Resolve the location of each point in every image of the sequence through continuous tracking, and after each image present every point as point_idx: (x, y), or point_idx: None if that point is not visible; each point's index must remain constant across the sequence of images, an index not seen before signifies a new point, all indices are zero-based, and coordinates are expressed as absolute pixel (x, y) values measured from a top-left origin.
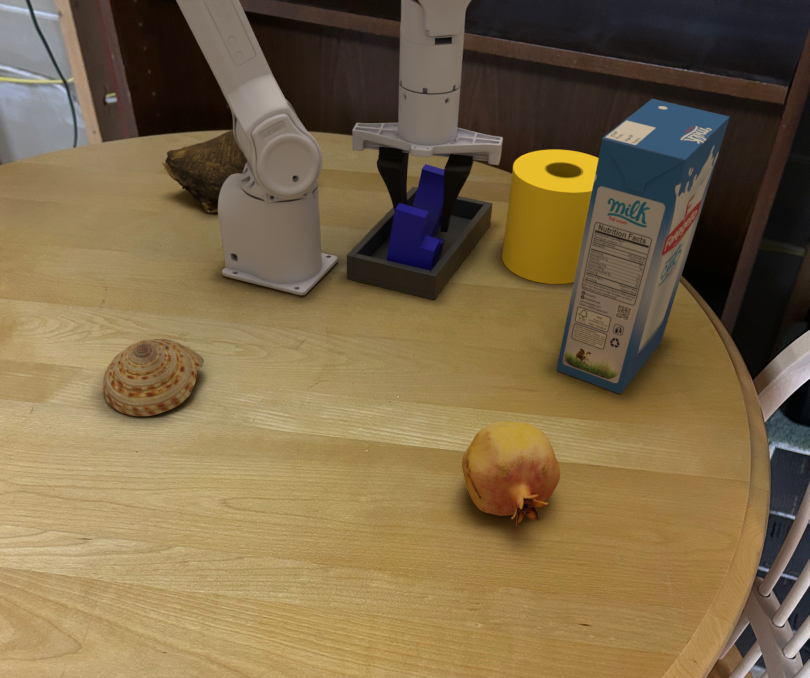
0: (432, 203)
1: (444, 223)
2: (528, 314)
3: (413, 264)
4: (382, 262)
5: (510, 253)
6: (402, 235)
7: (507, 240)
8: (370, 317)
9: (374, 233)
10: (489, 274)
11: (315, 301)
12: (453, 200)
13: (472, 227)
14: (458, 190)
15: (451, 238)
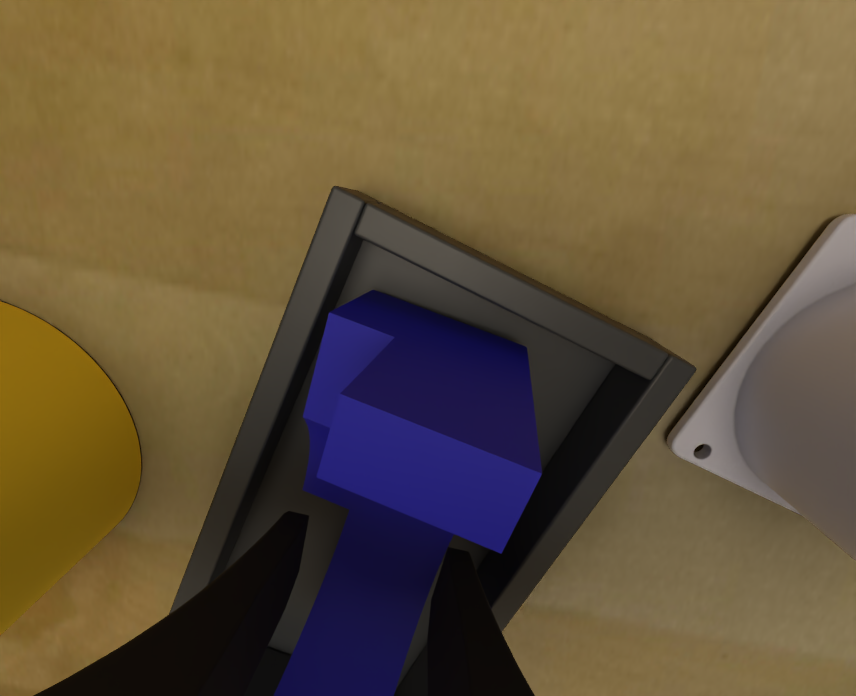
0: (328, 661)
1: (282, 531)
2: (16, 84)
3: (423, 319)
4: (555, 304)
5: (71, 411)
6: (475, 379)
7: (61, 457)
8: (604, 61)
9: (557, 520)
10: (174, 358)
11: (793, 187)
12: (190, 607)
13: (198, 547)
14: (119, 654)
15: None
